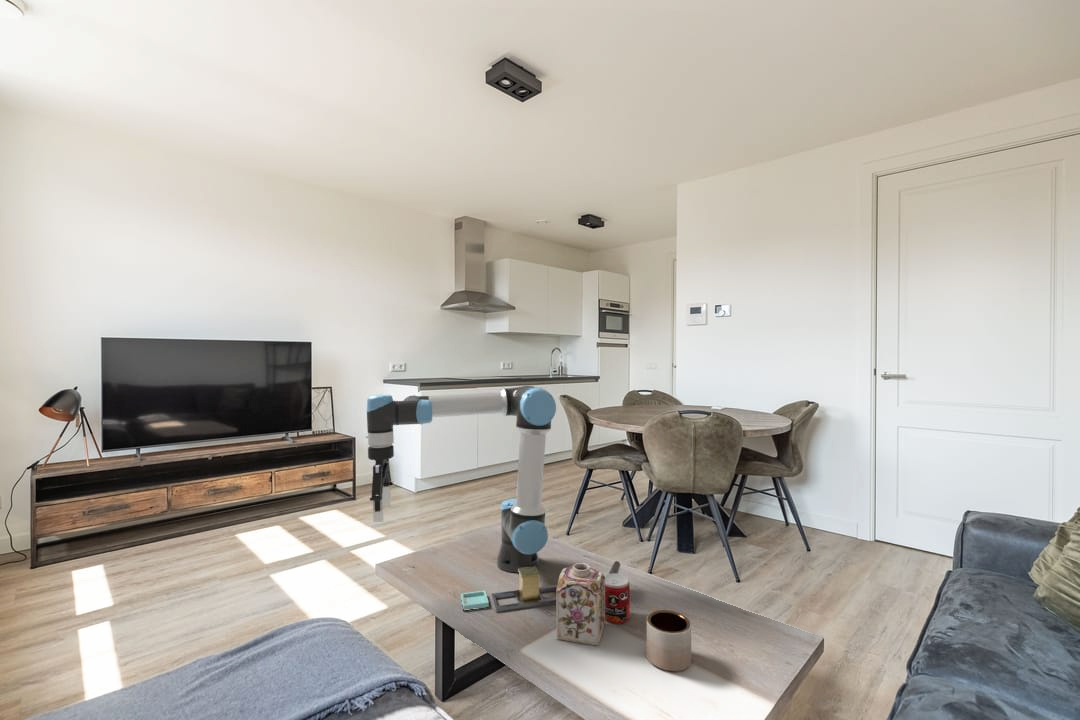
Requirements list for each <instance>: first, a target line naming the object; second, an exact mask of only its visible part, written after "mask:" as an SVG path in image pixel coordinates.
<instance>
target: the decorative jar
mask: <svg viewBox="0 0 1080 720" xmlns="http://www.w3.org/2000/svg"><path fill="white" fill-rule="evenodd" d="M604 576H605V575H604V573H602V571H600V570H598V569H597V568H595V567H594V566H591V565H589V564H588V563H584V562H578V563H575V564H574V565H572V566H568V567H564V568H562V570H561V571H560V574H559V577H558V581H557V584H556V585H557V589H556V591H555V592H556V596H555V598H556V604H555V606H556V612H555V613H556V615H555V616H556V621H555V623H556V640H557V641H558V640H559V641H566V642H572V643H578V644H583V645H590V646H599V645H600V642H601V639H602V634H603V631H604V626H605V624H606V623H605V622H606V620H605V577H604Z"/></svg>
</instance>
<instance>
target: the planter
mask: <svg viewBox="0 0 1080 720" xmlns="http://www.w3.org/2000/svg"><path fill="white" fill-rule="evenodd" d="M645 645H646V649H645V651H646V657H647V659H648V661H649V662H650V663H651V664H652V665H653V666H655V667H656V668H659V669H660V670H663V671H666V672H680V671H681V672H682V671H683V670H686V669H687V668H689V667H690V665H691V663H692V653H693V652H692V624H691V620H690V619H689V618H688V617H687V616H685V615H684V614H683V613H680V612H677V611H675V610H669V609H657V610H654V611H652V612H650V613H648V615H647V616H646V643H645Z"/></svg>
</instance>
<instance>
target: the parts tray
mask: <svg viewBox="0 0 1080 720" xmlns="http://www.w3.org/2000/svg"><path fill="white" fill-rule="evenodd" d="M464 597H465V599H466V601H467V604H466V605H465V602H464ZM461 600H462V602H461V606H462V605H463V607H462V610H463V609H473V608H484V609H486V608H485V607H489V608H490V606H489V605H490V604H489V599H488V596H487V592H486V590H477V591H471V592H464V593H460V601H461Z"/></svg>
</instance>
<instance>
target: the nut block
mask: <svg viewBox="0 0 1080 720" xmlns="http://www.w3.org/2000/svg"><path fill="white" fill-rule="evenodd" d="M518 571H519V572H518V578H519V579H518V580H519V582H518V584H519V587H518V588H519V589H518V590H519V596H518V597H519V599H520V601H521V603H522V602H529V601H536V600H540V599H539V587H540V583H539V582H540V581H539V579H540V577H541V573H540V572H539V570H538V568H537V567H536V566H532V567H524V568H518Z"/></svg>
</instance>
